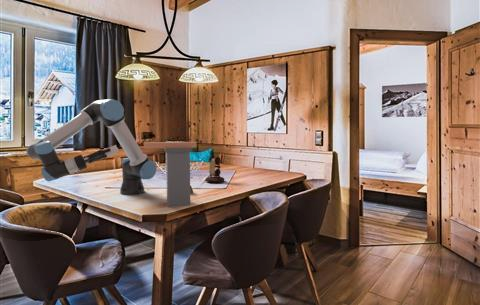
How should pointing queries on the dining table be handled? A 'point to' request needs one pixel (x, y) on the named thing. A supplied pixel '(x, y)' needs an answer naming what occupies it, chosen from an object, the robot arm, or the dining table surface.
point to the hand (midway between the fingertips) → (117, 148)
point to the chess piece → (214, 173)
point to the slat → (169, 145)
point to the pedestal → (178, 176)
